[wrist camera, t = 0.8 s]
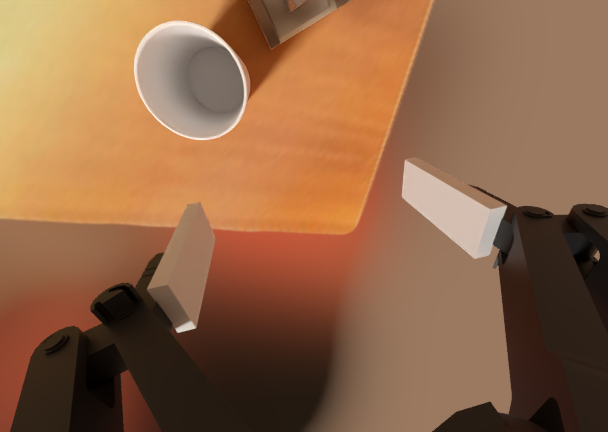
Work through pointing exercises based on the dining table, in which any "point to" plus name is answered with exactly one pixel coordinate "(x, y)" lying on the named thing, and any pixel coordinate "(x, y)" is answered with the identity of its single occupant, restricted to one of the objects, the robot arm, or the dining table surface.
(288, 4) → the rod
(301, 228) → the dining table surface
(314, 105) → the dining table surface
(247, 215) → the dining table surface
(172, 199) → the dining table surface
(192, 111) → the cup
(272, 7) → the rack
